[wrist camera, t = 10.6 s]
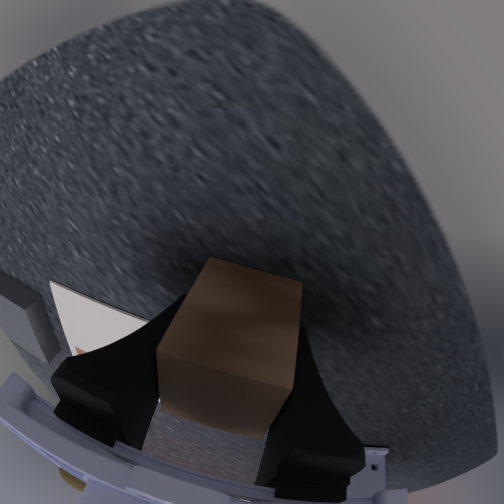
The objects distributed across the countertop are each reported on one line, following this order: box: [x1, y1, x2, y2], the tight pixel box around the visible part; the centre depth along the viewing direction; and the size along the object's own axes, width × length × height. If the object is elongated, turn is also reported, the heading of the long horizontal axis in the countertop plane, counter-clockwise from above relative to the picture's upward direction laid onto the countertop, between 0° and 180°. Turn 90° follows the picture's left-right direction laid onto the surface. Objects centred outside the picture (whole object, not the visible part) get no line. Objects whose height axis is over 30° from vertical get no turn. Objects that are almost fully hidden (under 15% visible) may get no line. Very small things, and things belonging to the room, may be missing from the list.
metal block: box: [0, 272, 60, 364], centre depth 20 cm, size 7×7×2 cm
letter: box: [49, 280, 160, 402], centre depth 20 cm, size 14×10×1 cm
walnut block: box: [156, 257, 303, 440], centre depth 12 cm, size 4×4×6 cm
